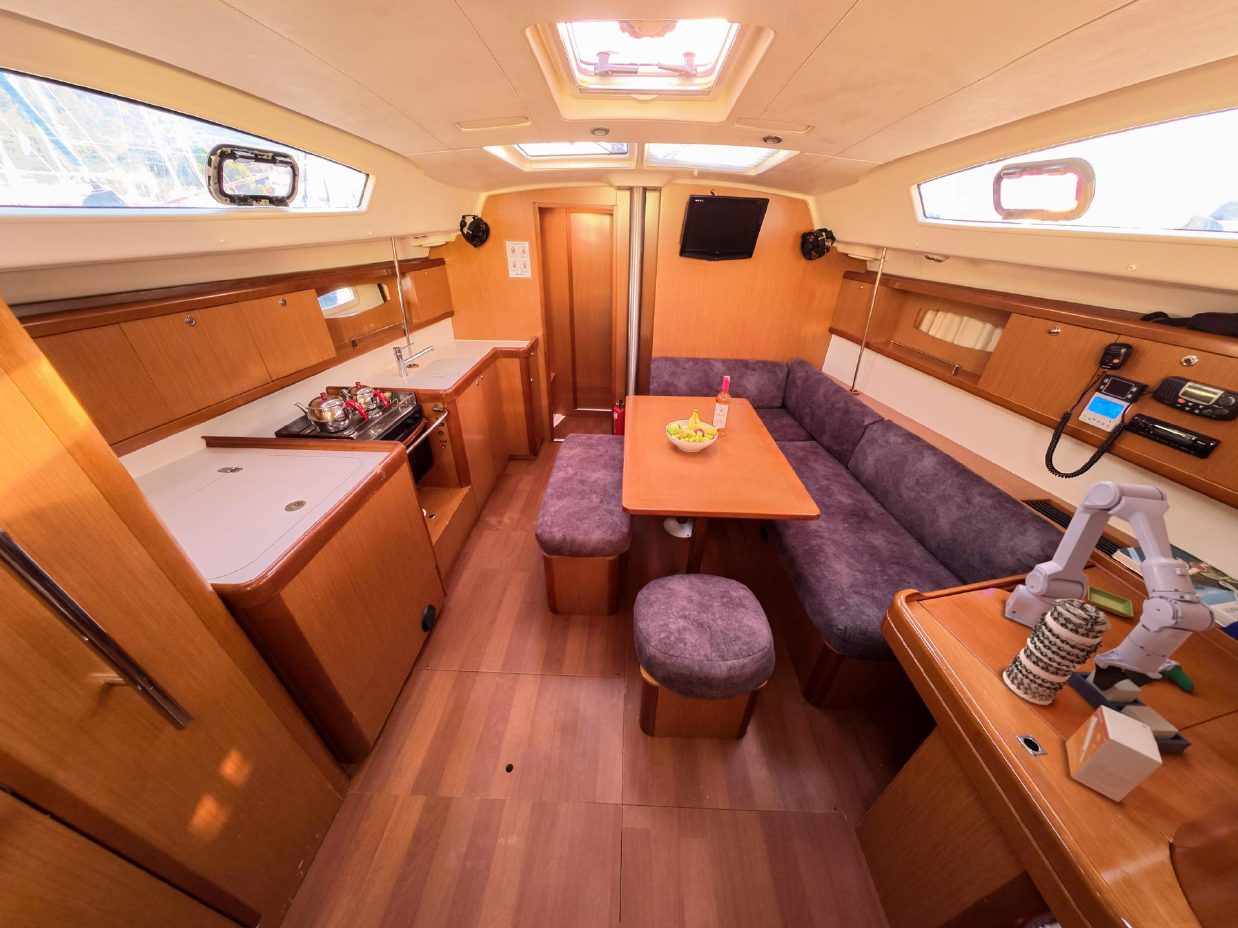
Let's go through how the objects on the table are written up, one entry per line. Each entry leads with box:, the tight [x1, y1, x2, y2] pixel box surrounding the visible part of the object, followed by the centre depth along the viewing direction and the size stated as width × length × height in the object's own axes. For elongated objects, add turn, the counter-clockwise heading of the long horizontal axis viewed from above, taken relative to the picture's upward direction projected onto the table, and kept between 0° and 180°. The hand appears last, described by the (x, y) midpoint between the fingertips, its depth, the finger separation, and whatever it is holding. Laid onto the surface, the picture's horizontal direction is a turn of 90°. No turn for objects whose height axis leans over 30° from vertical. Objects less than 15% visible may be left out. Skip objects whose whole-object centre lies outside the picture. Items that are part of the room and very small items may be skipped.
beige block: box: [1121, 705, 1180, 739], centre depth 82 cm, size 5×5×4 cm
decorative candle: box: [1002, 599, 1112, 706], centre depth 86 cm, size 9×9×25 cm
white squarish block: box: [1086, 669, 1143, 702], centre depth 88 cm, size 5×5×4 cm
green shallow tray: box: [1087, 584, 1134, 618], centre depth 115 cm, size 9×9×2 cm
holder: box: [1067, 671, 1193, 754], centre depth 86 cm, size 8×15×3 cm, turn 179°
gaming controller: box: [1161, 660, 1195, 692], centre depth 94 cm, size 9×4×6 cm
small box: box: [1065, 705, 1164, 803], centre depth 73 cm, size 8×6×13 cm
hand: (1110, 686), depth 88 cm, fingers closed on white squarish block, 5 cm apart
